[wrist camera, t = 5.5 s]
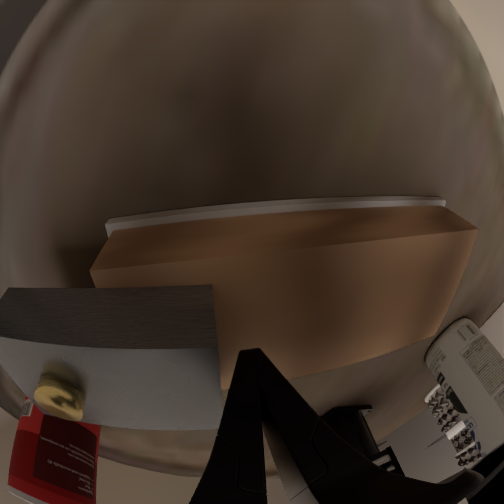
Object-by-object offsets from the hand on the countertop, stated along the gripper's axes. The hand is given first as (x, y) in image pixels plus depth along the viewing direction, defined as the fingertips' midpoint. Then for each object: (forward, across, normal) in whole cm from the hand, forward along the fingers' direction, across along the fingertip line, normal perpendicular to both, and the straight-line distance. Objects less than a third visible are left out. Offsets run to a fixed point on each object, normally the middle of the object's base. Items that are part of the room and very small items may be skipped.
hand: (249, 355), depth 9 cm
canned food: (+4, +17, +13) cm, 22 cm away
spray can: (+5, -21, +11) cm, 24 cm away
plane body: (+4, -3, 0) cm, 6 cm away
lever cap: (+1, +5, 0) cm, 5 cm away
